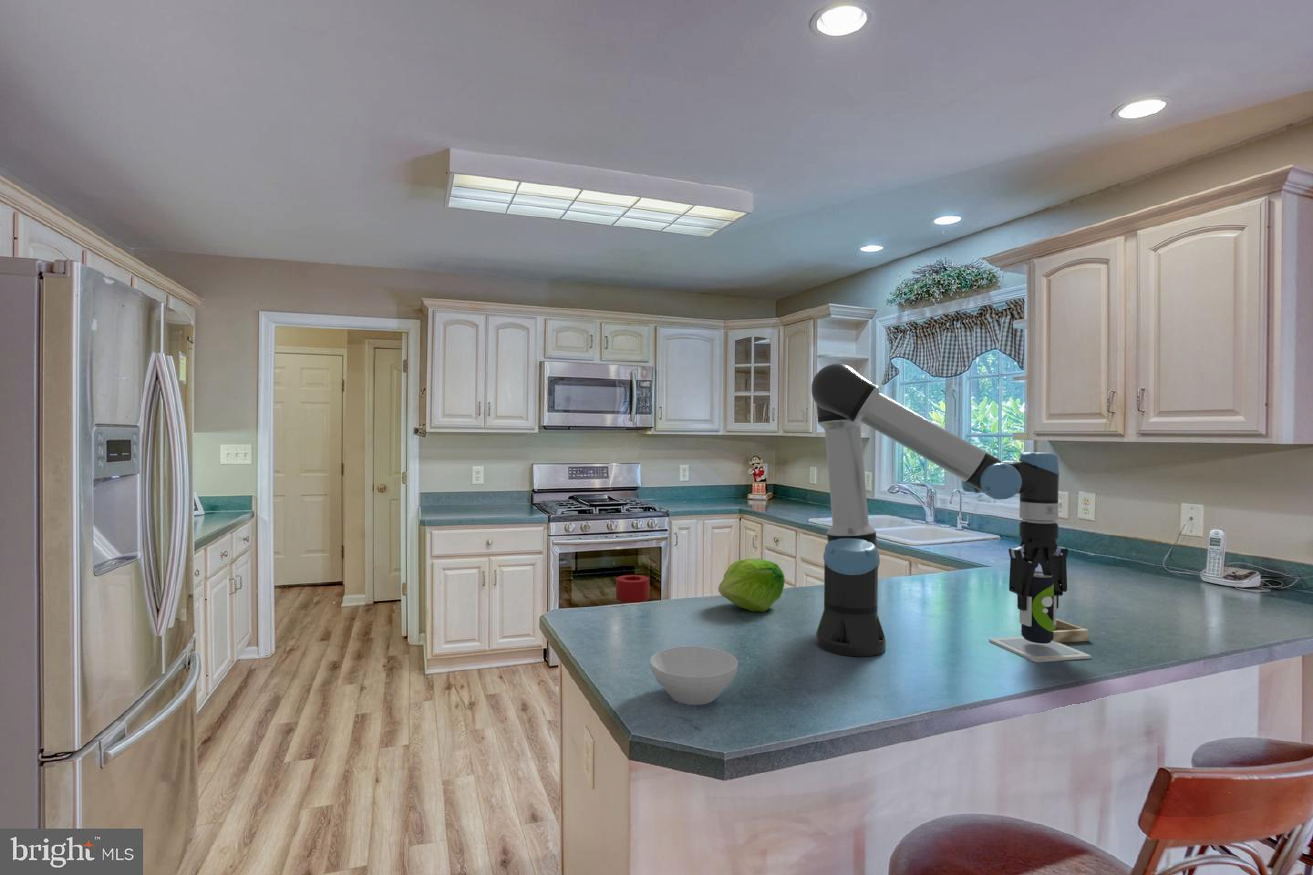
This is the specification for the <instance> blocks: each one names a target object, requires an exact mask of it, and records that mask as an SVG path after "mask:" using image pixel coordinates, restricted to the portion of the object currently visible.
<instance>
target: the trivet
mask: <svg viewBox="0 0 1313 875" xmlns="http://www.w3.org/2000/svg"><path fill="white" fill-rule="evenodd" d="M989 641H990V643H991V642H992V644H993V643H994V645H996V646H997V647H1000V648H1002V647H1003V648H1002V649H1004V648H1005V649H1004V650H1006V651H1009V652H1012V653H1013V652H1015V653H1017V654H1016V655H1018V654H1019V655H1018V656H1020V655H1021V656H1020V657H1022V656H1023V657H1022V658H1024V657H1025V658H1024V659H1026V658H1027V660H1028V659H1029V660H1028V661H1030V662H1033V663H1044V662H1045V663H1046V662H1058V661H1059V662H1061V661H1071V660H1074V661H1075V660H1086V659H1087V660H1088V659H1089V660H1090V659H1092V655H1091V654H1088V653H1085V652H1083V651H1081V650H1078V649H1076V648H1073V647H1071V646H1068V645H1065V644H1064V643H1058V642H1056V641H1053V640H1052V641H1051V642H1050V643H1046V644H1042V643H1034V642H1030V641H1027V640H1025V639H1024V637H1023V636H1013V637H1012V636H1010V637H997V638H995V637H993V638H988V642H989ZM1015 653H1014V654H1015Z"/></svg>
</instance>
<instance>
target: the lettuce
mask: <svg viewBox="0 0 1313 875" xmlns="http://www.w3.org/2000/svg"><path fill="white" fill-rule="evenodd" d="M785 580H786V579H785V573H784V571H783V570H782V569H781V567H780V566H779V565H778V564H777V563H775V562H773V561H771V560H765V559H761V558H746V559H741V560H740V559H739V560H736V561H734V562H733V563H732V564H730V565H729V566H728V568H727V569H726V571H725V573H724V575H723V579H722V581H720V583H719V585H718V590H717V591H718V593H719V595H721V597H723V598H726V599H727V600H728V601H730V602H731V603H733V604H734V605H735V606H737V607H739V608H741V609H744V610H747V611H751V612H755V613H763V612H766V611H767V610H769V609H770V608H771V607H772V606H773V605H774V603H775V602H776V601H778V600H779V599H780V598H781V596H782V593H783V591H784V587H785Z"/></svg>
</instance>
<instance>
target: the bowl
mask: <svg viewBox="0 0 1313 875" xmlns="http://www.w3.org/2000/svg"><path fill="white" fill-rule="evenodd" d="M649 664H650V665H649V666H650V670H651V672H652V675H653V676H654V678H655V680H656V681H657V683H658V684H659V685H660V686H661V687H662V688H663V690H664V691H665V692H666V693H667V694H668V695H669V696H670V697H671V699H673V701H675V702H678V703H680V704H685V705H690V706H693V705H695V706H699V705H706V704H709V703H711V702H714V701H715V700H716V699H717V698H718V697H719V695H720V694H722V692H724V691H725V689H727V687H728V686H729V685H731V683H732V681H733V680H734V678H735V676H736V673H737V671H738V668H739V667H738V666H739V663H738V659H737V658H736V657H735V655H732V654H731V653H729V652H727V651H724V650H722V649H718V648H713V647H708V646H701V645H700V646H697V645H695V646H694V645H684V646H675V647H669V648H665V649H661V650H659V651H657V652H655V653H654V654H653V655H652V656H651V657H650V659H649Z"/></svg>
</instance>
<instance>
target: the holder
mask: <svg viewBox="0 0 1313 875" xmlns="http://www.w3.org/2000/svg"><path fill="white" fill-rule="evenodd" d="M1053 641H1056V642H1058V643H1061V644H1063V643H1074V642H1076V643H1077V642H1089V641H1090V630H1089V629H1087V628H1084V627H1082V626H1078V625H1076V624H1072V623H1071V622H1070V623H1069V622H1067V621H1064V620H1062V619H1059V618H1056V625H1054V639H1053Z"/></svg>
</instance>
